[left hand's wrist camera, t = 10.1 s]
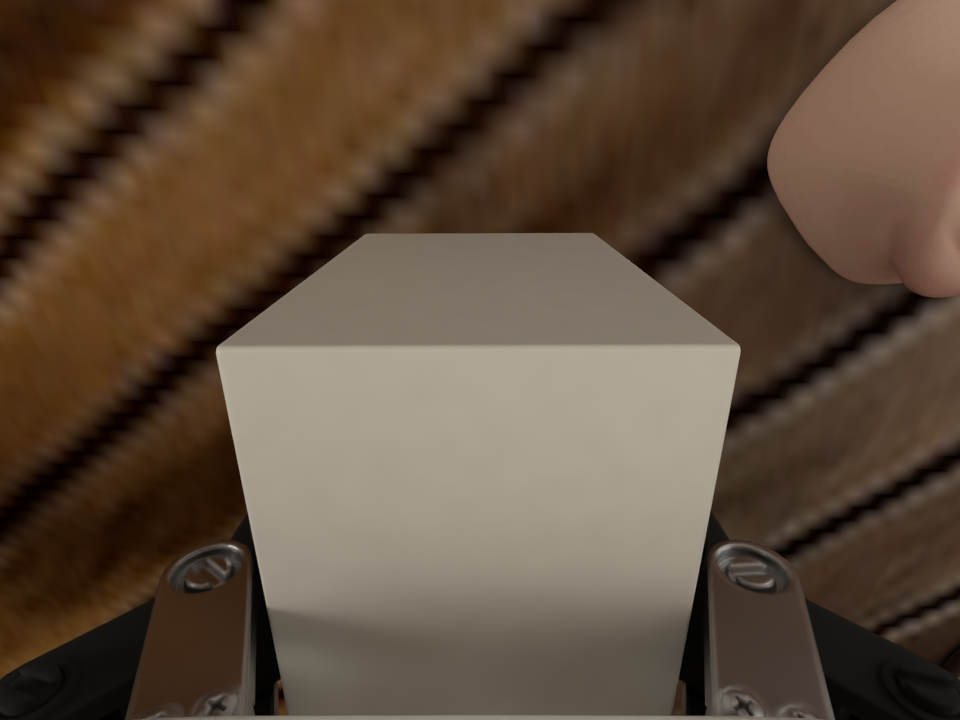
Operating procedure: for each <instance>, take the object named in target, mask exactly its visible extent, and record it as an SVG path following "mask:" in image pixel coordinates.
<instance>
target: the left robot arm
mask: <svg viewBox="0 0 960 720" xmlns="http://www.w3.org/2000/svg"><path fill="white" fill-rule="evenodd" d="M280 679H281V676H280V671H279V666H278V661H277V656H276V651H275V646H274V641H273V636H272V631H271V626H270V621H269V616H268V611H267V606H266V601H265V596H264V591H263V586H262V581H261V576H260V571H259V566H258V561H257V556H256V551H255V546H254V541H253V536H252V531H251V526H250V521H249V516H248V513H247V514H246V516H245V518H244V519H243V521H242V522H241V524H240V525H239V527H238V529H237V530H236V532H235V533H234V535H233V536H232V538H231V540H219V541H211V542H208V543H205V544H201V545H198V546H196V547H194V548H192V549H190V550H188V551H186V552H184V553H182V554H181V555H180V556H178V557H177V558H176V559H174V560H173V561H172V562H171V563H170V564H169V565H168V566H167V568H166V569H165V570H164V572H163V574H162V576H161V578H160V581H159V585H158V589H157V593H156V597H155V599H153V600H151V601H149V602H147V603H145V604H143V605H141V606H139V607H137V608H135V609H133V610H131V611H129V612H127V613H125V614H123V615H121V616H119V617H117V618H115V619H113V620H111V621H109V622H107V623H105V624H103V625H101V626H99V627H97V628H95V629H93V630H91V631H89V632H87V633H85V634H83V635H81V636H79V637H77V638H75V639H73V640H71V641H69V642H67V643H65V644H63V645H61V646H59V647H57V648H55V649H53V650H51V651H49V652H47V653H45V654H43V655H41V656H39V657H37V658H35V659H33V660H31V661H29V662H27V663H25V664H24V665H22V666H20V667H19V668H17V669H15V670H13V671H12V672H10V673H8V674H7V675H6V676H4V677H3V678H2V679H0V720H960V680H959V679H958V678H957V677H955V676H954V675H953V674H951V673H950V672H948V671H946V670H945V669H943V668H941V667H940V666H938V665H936V664H934V663H932V662H930V661H928V660H927V659H925V658H923V657H921V656H919V655H917V654H915V653H913V652H911V651H909V650H907V649H905V648H903V647H901V646H899V645H897V644H895V643H893V642H891V641H889V640H887V639H885V638H883V637H881V636H879V635H877V634H875V633H873V632H871V631H869V630H867V629H865V628H863V627H861V626H859V625H857V624H855V623H853V622H851V621H849V620H847V619H845V618H843V617H841V616H839V615H837V614H835V613H833V612H831V611H829V610H827V609H825V608H823V607H821V606H819V605H817V604H815V603H813V602H811V601H809V600H807V599H805V597H804V593H803V589H802V585H801V581H800V578H799V576H798V574H797V572H796V570H795V569H794V568H793V566H792V565H791V564H790V563H789V562H788V561H787V560H786V559H784V558H783V557H782V556H780V555H779V554H778V553H776V552H774V551H772V550H770V549H768V548H766V547H764V546H762V545H759V544H755V543H752V542H749V541H741V540H729V539H728V537H727V535H726V534H725V532H724V531H723V529H722V528H721V526H720V524H719V523H718V521H717V520H716V518H715V517H714V515H713V513H712V512H711V510H710V516H709V521H708V526H707V531H706V537H705V542H704V547H703V553H702V558H701V563H700V568H699V574H698V579H697V584H696V589H695V595H694V600H693V605H692V610H691V616H690V621H689V626H688V631H687V637H686V642H685V647H684V652H683V658H682V663H681V668H680V674H679V679H680V680H681V681H683V685H682V712H681V716H569V715H393V716H279V712H278V685H277V681H278V680H280Z"/></svg>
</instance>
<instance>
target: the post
mask: <svg viewBox="0 0 960 720" xmlns="http://www.w3.org/2000/svg"><path fill="white" fill-rule="evenodd" d="M740 353H741V350H740V346H739V345H738V344H737V343H736V342H734V341H733V340H732V339H731V338H729V337H728V336H727V335H725V334H724V333H723V332H721V331H720V330H719V329H718V328H716V327H715V326H714V325H712V324H711V323H710V322H708V321H707V320H706V319H704V318H703V317H702V316H701V315H699V314H698V313H697V312H695V311H694V310H693V309H691V308H690V307H689V306H687V305H686V304H685V303H684V302H682V301H681V300H680V299H678V298H677V297H676V296H674V295H673V294H672V293H671V292H669V291H668V290H667V289H665V288H664V287H663V286H661V285H660V284H659V283H657V282H656V281H655V280H654V279H652V278H651V277H650V276H648V275H647V274H646V273H644V272H643V271H642V270H641V269H639V268H638V267H637V266H635V265H634V264H633V263H631V262H630V261H629V260H627V259H626V258H625V257H624V256H622V255H621V254H620V253H618V252H617V251H616V250H614V249H613V248H612V247H610V246H609V245H608V244H607V243H605V242H604V241H603V240H601V239H600V238H599V237H597V236H596V235H595V234H593V233H485V234H366V235H364V236H363V237H361V238H360V239H359V240H357V241H356V242H355V243H353V244H352V245H351V246H349V247H348V248H347V249H345V250H344V251H343V252H342V253H340V254H339V255H338V256H336V257H335V258H334V259H332V260H331V261H330V262H328V263H327V264H326V265H324V266H323V267H322V268H320V269H319V270H318V271H316V272H315V273H314V274H312V275H311V276H310V277H309V278H307V279H306V280H305V281H303V282H302V283H301V284H299V285H298V286H297V287H295V288H294V289H293V290H291V291H290V292H289V293H287V294H286V295H285V296H283V297H282V298H281V299H279V300H278V301H277V302H276V303H274V304H273V305H272V306H270V307H269V308H268V309H266V310H265V311H264V312H262V313H261V314H260V315H258V316H257V317H256V318H254V319H253V320H252V321H250V322H249V323H248V324H246V325H245V326H244V327H243V328H241V329H240V330H239V331H237V332H236V333H235V334H233V335H232V336H231V337H229V338H228V339H227V340H225V341H224V342H223V343H221V344H220V345H219V346H217V349H216V356H217V361H218V366H219V371H220V376H221V381H222V386H223V391H224V396H225V401H226V406H227V411H228V416H229V421H230V426H231V431H232V436H233V441H234V446H235V451H236V456H237V461H238V466H239V471H240V476H241V481H242V486H243V491H244V496H245V501H246V506H247V511H248V516H249V521H250V526H251V531H252V536H253V541H254V546H255V551H256V556H257V561H258V566H259V571H260V576H261V581H262V586H263V591H264V596H265V601H266V606H267V611H268V616H269V621H270V626H271V631H272V636H273V641H274V646H275V651H276V656H277V661H278V666H279V671H280V676H281V681H282V686H283V691H284V696H285V701H286V706H287V711H288V716H393V715H569V716H672V710H673V705H674V700H675V695H676V689H677V684H678V679H679V674H680V668H681V663H682V658H683V652H684V647H685V642H686V637H687V631H688V626H689V621H690V616H691V610H692V605H693V600H694V595H695V589H696V584H697V579H698V574H699V568H700V563H701V558H702V553H703V547H704V542H705V537H706V531H707V526H708V521H709V516H710V510H711V505H712V500H713V495H714V489H715V484H716V479H717V474H718V468H719V463H720V458H721V453H722V447H723V442H724V437H725V431H726V426H727V421H728V416H729V410H730V405H731V400H732V395H733V389H734V384H735V379H736V374H737V368H738V363H739V358H740Z"/></svg>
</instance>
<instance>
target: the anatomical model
mask: <svg viewBox="0 0 960 720" xmlns="http://www.w3.org/2000/svg"><path fill="white" fill-rule="evenodd" d="M767 167H768V174H769V177H770V180H771V184H772V186H773V188H774V190H775V192H776V194H777V197H778V199H779V201H780V203H781V204H782V206H783V207H784V209H785V211H786V212H787V214H788V215H789V217H790V219H791V220H792V222H793V223H794V225H795V226H796V228H797V230H798V231H799V233H800V234H801V235H802V237H803V238H804V240H805V241H806V242H807V244H808V245H809V246H810V247H811V248H812V249H813V250H814V251H815V252H816V253H817V254H818V255H819V256H820V257H821V258H822V260H823V261H824V262H825V263H826V264H827V265H828V266H829V267H830V268H831V269H833V270H834V271H835V272H836V273H837V274H839V275H840V276H842V277H843V278H846V279H848V280H850V281H853V282H856V283H862V284H898V283H903V284H904V285H905V286H906V287H907V288H908V289H910V290H911V291H913V292H915V293H917V294H919V295H922V296H927V297H933V298H943V297H953V296H960V0H897V1H895V2H894V3H893V4H891V5H890V6H889V7H888V8H886V9H885V10H884V11H882V12H881V13H880V14H879V15H877V16H876V17H875V18H873V19H872V20H871V21H870V22H869V23H868V24H867V25H866V26H865V27H864V28H862V29H861V30H860V31H859V32H858V33H857V34H856V35H855V36H854V37H853V38H852V39H851V40H849V42H848V43H847V44H846V45H845V46H844V47H843V48H842V49H841V50H840V51H839V52H838V53H837V54H836V55H835V56H834V57H833V58H832V59H831V61H830V62H829V63H828V64H827V65H826V66H825V67H824V68H823V69H822V70H821V72H820V73H819V74H818V75H817V76H816V77H815V79H814V80H813V81H812V82H811V83H810V84H809V86H808V87H807V88H806V89H805V90H804V92H803V93H802V94H801V95H800V97H799V98H798V99H797V101H796V102H795V103H794V105H793V106H792V107H791V109H790V110H789V112H788V113H787V114H786V116H785V117H784V119H783V121H782V122H781V124H780V125H779V127H778V129H777V131H776V133H775V135H774V137H773V139H772V141H771V145H770V148H769V152H768V158H767Z"/></svg>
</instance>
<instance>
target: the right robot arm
mask: <svg viewBox="0 0 960 720" xmlns="http://www.w3.org/2000/svg"><path fill="white" fill-rule="evenodd" d="M941 668H943V669H945V670H946V671H948V672H950V673H951V674H953V675H954V676H955V677H957V678H958V679H959V680H960V648H959V649H958V650H957V651H956V652H955V653H954V654H953V655H952V656H950V657H949V658H948V660H947V661H946V662H945V663H944V664H943V665H942V666H941Z"/></svg>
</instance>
